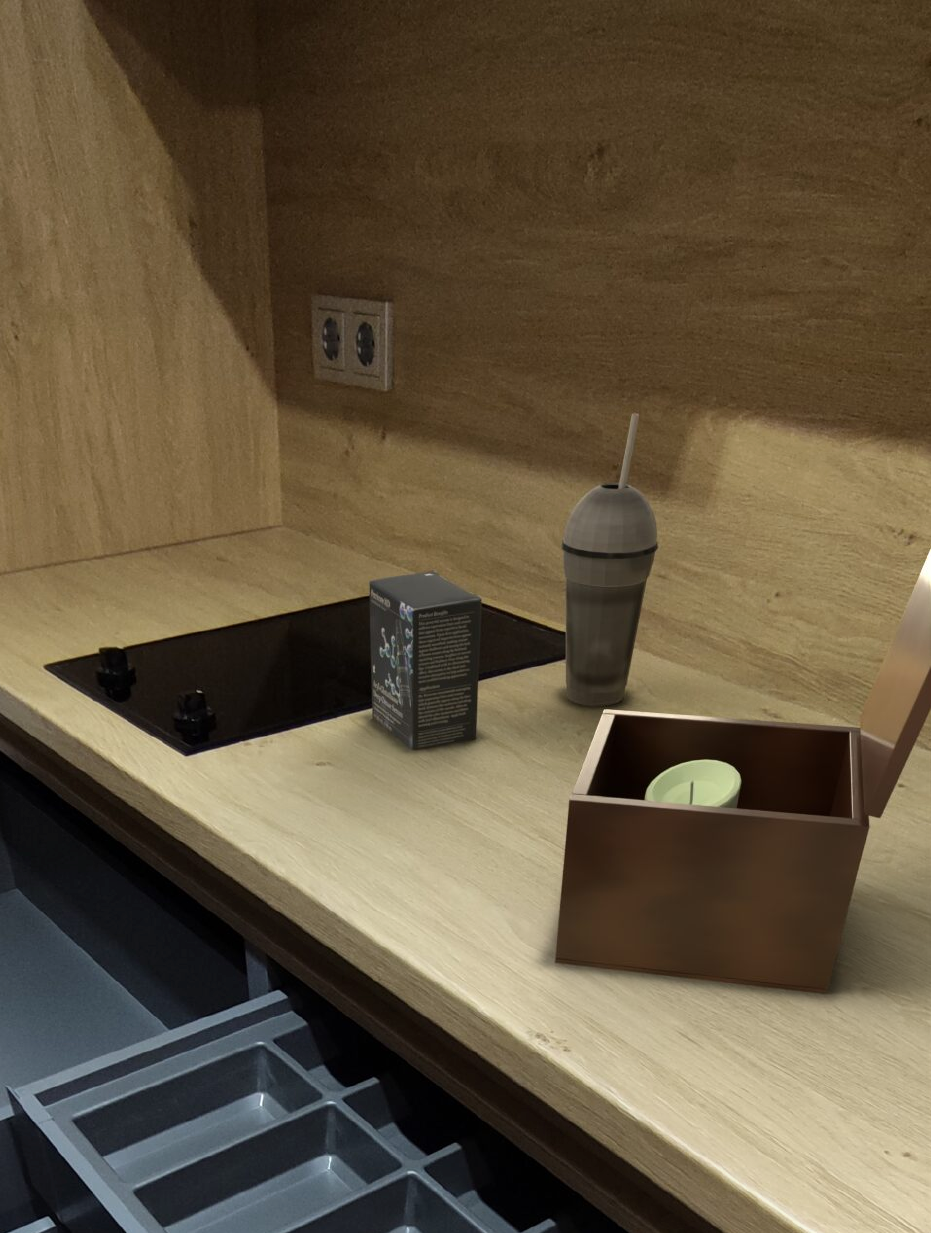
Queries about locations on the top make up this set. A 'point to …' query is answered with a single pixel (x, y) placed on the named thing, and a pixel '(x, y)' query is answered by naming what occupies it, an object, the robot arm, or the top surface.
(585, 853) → the chest
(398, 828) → the top surface
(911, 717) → the lid
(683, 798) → the candle
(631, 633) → the beverage cup
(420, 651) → the box
